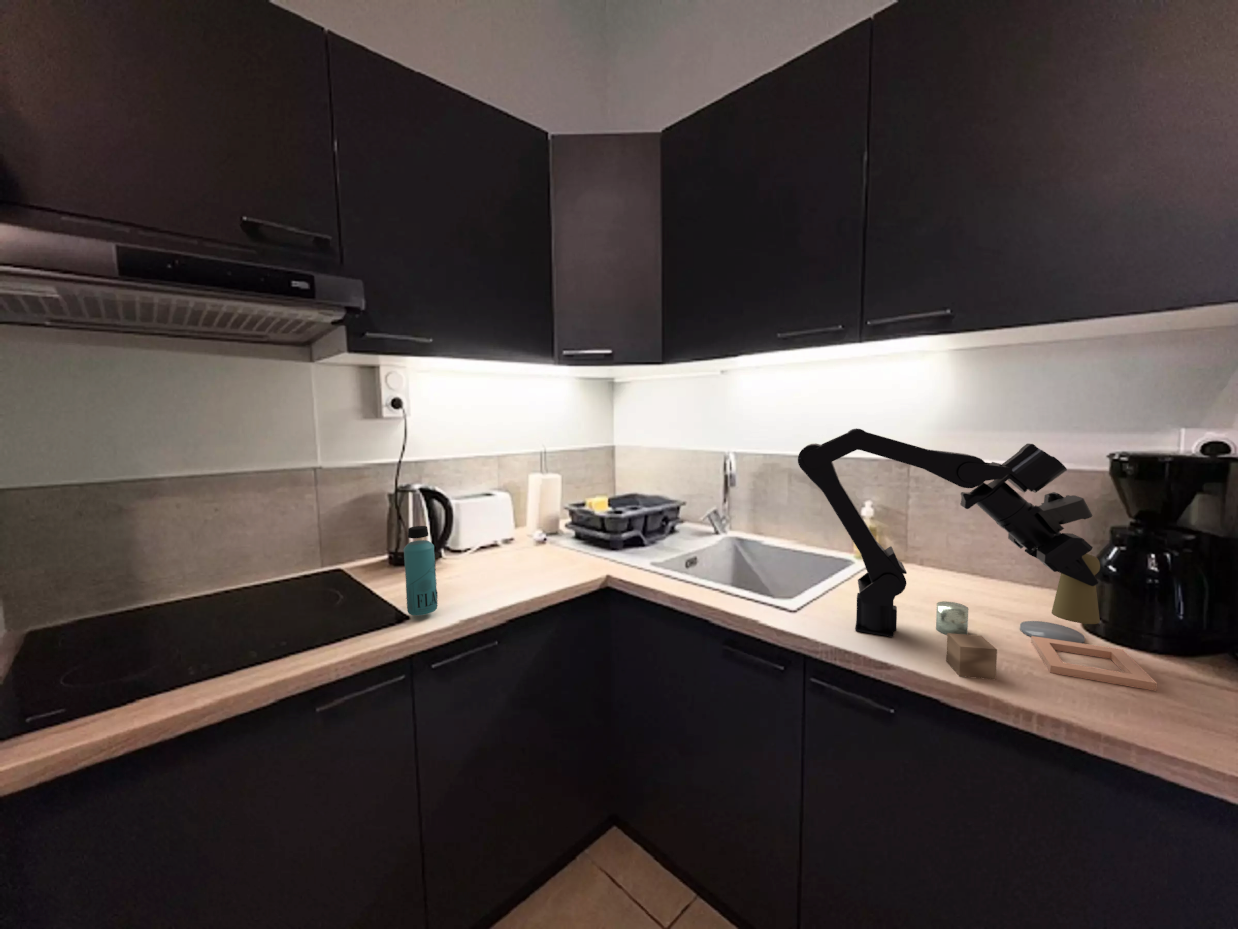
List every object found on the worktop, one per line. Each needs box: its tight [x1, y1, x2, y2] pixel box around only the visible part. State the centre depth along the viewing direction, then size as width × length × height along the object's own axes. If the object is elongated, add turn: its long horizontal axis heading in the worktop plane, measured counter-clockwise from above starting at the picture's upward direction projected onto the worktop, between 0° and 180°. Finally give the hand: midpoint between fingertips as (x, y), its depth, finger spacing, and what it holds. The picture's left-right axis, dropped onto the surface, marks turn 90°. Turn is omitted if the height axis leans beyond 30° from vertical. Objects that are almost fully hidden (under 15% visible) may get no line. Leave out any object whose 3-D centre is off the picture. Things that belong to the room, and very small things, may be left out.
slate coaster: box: [1019, 620, 1086, 644], centre depth 91 cm, size 9×9×1 cm
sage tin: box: [935, 600, 969, 636], centre depth 93 cm, size 5×5×5 cm
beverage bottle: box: [403, 525, 439, 616], centre depth 106 cm, size 6×7×20 cm
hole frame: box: [1030, 636, 1158, 692], centre depth 80 cm, size 12×12×1 cm
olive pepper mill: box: [1051, 553, 1101, 625], centre depth 82 cm, size 6×6×11 cm
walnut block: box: [945, 633, 998, 680], centre depth 79 cm, size 5×5×5 cm
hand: (1087, 579), depth 82 cm, fingers closed on olive pepper mill, 5 cm apart
